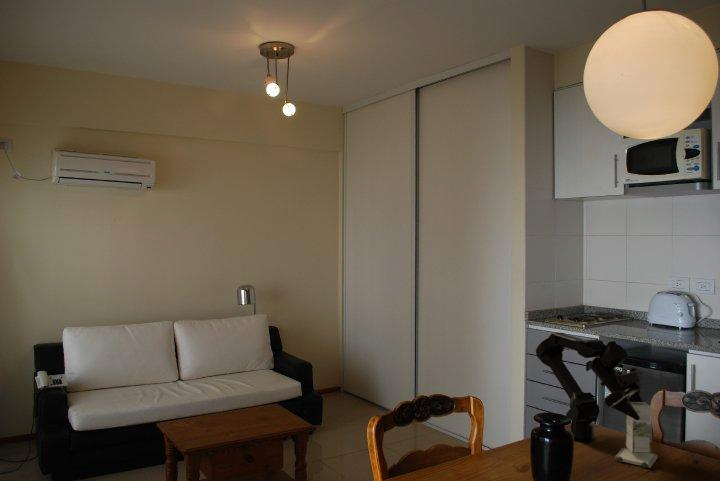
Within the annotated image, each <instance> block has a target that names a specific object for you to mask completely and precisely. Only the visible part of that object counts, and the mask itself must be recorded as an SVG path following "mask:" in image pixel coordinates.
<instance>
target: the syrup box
mask: <svg viewBox="0 0 720 481" xmlns="http://www.w3.org/2000/svg"><path fill="white" fill-rule="evenodd" d="M630 404H631V405H632V406H633V408H634V409H635V411H636V412H637V414H638V415H639V417H640V419H639V420H636V419H634V418H632V417H630V416H628V415H626V414H625V446H626V447H627V448H628V449H629V450H630V451H631V452H632V453H651V452H652V432H653V431H652V429H653V428H652V427H653V425H652V424H653V423H652V422H653V421H652V420H653V408H652V406H650V405H649V404H648V403H647V402H645V401H644V402H630ZM626 447H625V448H626Z"/></svg>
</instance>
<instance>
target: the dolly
mask: <svg viewBox="0 0 720 481" xmlns="http://www.w3.org/2000/svg"><path fill="white" fill-rule="evenodd" d="M657 459H658V454H656V452H654V451H651V453H632V452H631V451H630V450H629V449H628V448H627V447H622V448H621V449H620V451H618V452H617V454H616V455H615V456H614V460H615V461H617V463H622V462H623V463H628V464H631V465H636V466H641V467H642V468H644V469H647V468H650V469H651V468H652V466H653V465H654V464H655V462H656V460H657Z"/></svg>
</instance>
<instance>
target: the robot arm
mask: <svg viewBox="0 0 720 481" xmlns="http://www.w3.org/2000/svg"><path fill="white" fill-rule="evenodd" d="M565 348H566V349H571V350H573V351H575V352H577V355H579V356H581V357H583V358H584V359H591V358H592V360H589V361H586V362H585V365H586V366H585V371H586V372H589V371H592V372H593V373H594V374H595V375H596V377H597V378H598V380H600V382H601V383H600V385H601V387H604V386H605V388H607V390H608V391H609V392H610V393H609V394H607V396H605V397H604V398H603V399H604V400H603V403H604V404H605V406H606V407H607V408H608V409H609V408H610V407H611V408H612V409H613V410H614V409H615V410H617V411H619V412H621V413H623V414H624V415H625V416H626V415H628V416H630V417H632V418H634V419H636V420H639V419H640V417H639V415H638V414H637V412H636V411H635V409H634V408H633V406H632V405H631V404H630V402H645V401H644V399H643V397H642V392H643V387H644V385H643V383H641V381H643V380H644V376H643V374H644V373H643V371H642V370H641V369H639V368H637V367H636V366H634V367H631V368H630V369H629V372H625V373H623V372H622V371H621V370H618V371H617V370H616V369H615V368H617V367H618V366H619V365H620V364H621V363H622V362H624V361H625V360H626V359H627V358H628V354H627V351H626V349H625V348H624V347H623V346H622V345H619V344H617V342H616V340H613V341H609V342H608V343H607V344H605V343H604V342H603V340H601V339H584V338H580V337H576V336H573V335H570V334H566V333H564V332H554V333H550V335H549V336H548V337H547V338H545V339H544V340H542V341H541V342H540V343H539V344H538V345H537V347H536V349H535V355H536V356H537V359H539V361H540V362H541V363H542V364H543V365H545V366H546V367H548V368H550V370H551V371H552V373H553V375H555V378H556V379H557V381H558V382H559V384H560V385H561V387H562V388H563V391H564V392H565V394H566V395H567V396H568V399H569V410H568V411H567V412H566V413H565V415H566V418H567V417H568V418H570V419H571V420H572V423H571V422H570V433H571V432H572V433H573V435H574V440H573V441H576V442H581V443H585V444H589V443H590V442H592V441H593V440H594V439H595V426H593V422H595V423H596V422H597V421H598V418H599V414H600V411H601V410H600V407H599V404H598V401H597V399H595V397H594V395H593V393H591V392H584V391H583V390H582V388H581V387H580V386H579V384H578V383H577V381H576V380H575V378H574V376H573V375H572V373H571V372H570V370H569V368H568V367H567V365H566V364H565V362H564V361H563V357H564V356H563V354H564V353H563V352H564V351H565Z"/></svg>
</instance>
